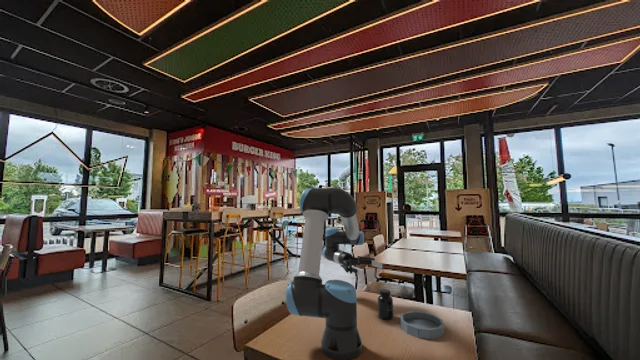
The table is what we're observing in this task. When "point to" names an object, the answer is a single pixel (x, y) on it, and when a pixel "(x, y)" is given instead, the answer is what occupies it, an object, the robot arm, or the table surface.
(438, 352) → the table surface
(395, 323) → the table surface
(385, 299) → the supplement bottle
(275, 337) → the table surface
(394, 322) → the table surface
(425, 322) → the bowl
